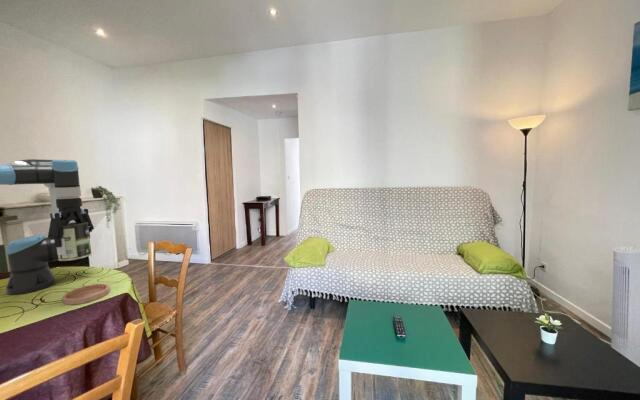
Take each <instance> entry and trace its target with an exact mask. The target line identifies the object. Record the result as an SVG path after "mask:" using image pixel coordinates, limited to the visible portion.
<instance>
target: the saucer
mask: <svg viewBox="0 0 640 400" xmlns="http://www.w3.org/2000/svg"><path fill="white" fill-rule="evenodd" d="M110 290H111V286H110V285H109V284H107V283H92V284H89V285H84V286H81V287H76V288H74V289H71V290H69V291H68V292H65V293H64V294H63V295H62V296H61V300H62V302H63V304H64V305H67V306H68V305H69V306H76V305H81V304H83V305H84V304H87V303H90V302H94V301H96V300H100V299H101V298H103V296H104V297H105V296H107V295H108V294H109V293H110ZM108 292H109V293H108ZM106 294H107V295H106Z"/></svg>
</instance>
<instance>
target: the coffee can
mask: <svg viewBox="0 0 640 400" xmlns="http://www.w3.org/2000/svg"><path fill="white" fill-rule="evenodd" d="M60 228H63V231H64V234H63V237H62V238H64V239H65V247H66V255H58V260H57V261H59V262H67V261H75V260H80V259H85V258H88V257H90V256H91V255H93V253H92V247H91V246H92V245H91V236H90V237H89V228H88V222H84V223H76V222H74V223H68V225H67V226H59V229H60ZM58 236H59V235H58Z"/></svg>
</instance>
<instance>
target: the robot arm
mask: <svg viewBox="0 0 640 400" xmlns="http://www.w3.org/2000/svg"><path fill="white" fill-rule="evenodd" d="M78 165H79V164H78V162H77V161H76V160H73V159H34V158H33V159H32V158H29V159H28V158H27V159H22V160H21V159H20V160H16V161H11V162H9V163H7V164H3V165H2V164H1V165H0V185H1V186H3V185H4V186H5V185H6V186H7V185H8V186H13V185H44V186H45V187H46V188H48V192H49V198H50V205H51V206H50V207H51V213H50V214H49V217H50V222H49V229H48V233H47V237H46V236H45V235H44V234H36V235H32V236H31V235H30V236H26V237H20V238H18V239H15V240H12V241H10V242H9V243H7V245H6V251H7V252H6V255H7V257H8V265H9V266H8V267H9V272H10V273H9V275H10V276H9V278H8V280H7V281H8V282H7V284H6V288H5V291H6V294H7V295H22V294H27V293H32V292H37V291H40V290H43V289H46V288H49V287H51V286H53V285H55V284H56V277H55V275H54V273H53V272H52V270H51V269H50V267H49V262H55V261H59V260H58V255H66V247H65V239H64V238H62V237H63V234H64V231H63V228H60V229H59V226H67V225H68V223H74V222H76V223H84V222H88V228H89V237H90V238H91V234H90V233H92V232H93V230H94V229H95V228H94V225H93V222H92V220H91V217H90V215H89V209H88V208H81V207H82V206H83V200H82V198H81V196H82V191H81V185H80V175H79V166H78ZM58 235H59V236H58Z"/></svg>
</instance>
